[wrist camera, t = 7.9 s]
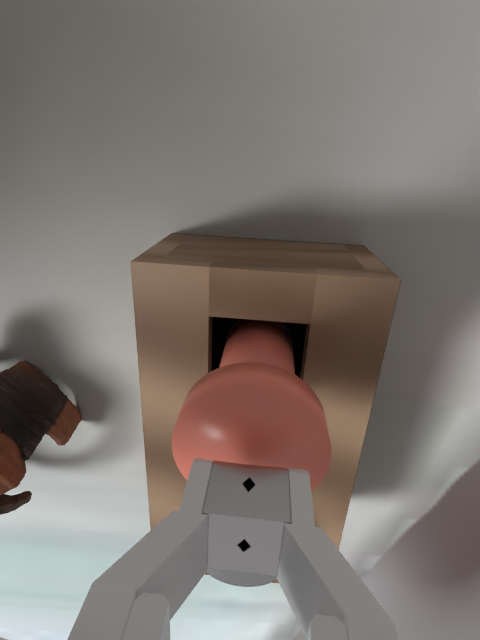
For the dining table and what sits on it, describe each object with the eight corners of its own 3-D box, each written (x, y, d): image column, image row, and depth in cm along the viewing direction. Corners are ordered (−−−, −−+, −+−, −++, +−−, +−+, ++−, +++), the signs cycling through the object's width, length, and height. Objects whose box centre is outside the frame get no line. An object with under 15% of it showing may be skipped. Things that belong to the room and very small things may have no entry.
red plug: (210, 293, 16) (169, 377, 10) (316, 301, 16) (343, 393, 9) (208, 382, 18) (173, 501, 12) (303, 391, 18) (319, 517, 11)
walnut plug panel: (171, 233, 19) (130, 261, 14) (363, 245, 19) (401, 280, 13) (178, 484, 26) (153, 568, 21) (317, 498, 26) (329, 589, 20)
